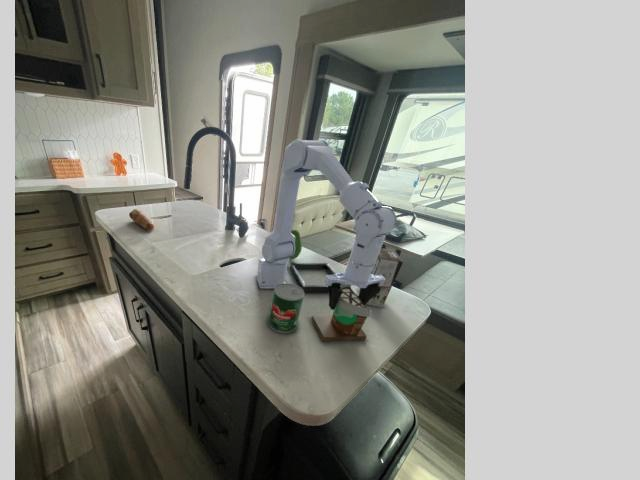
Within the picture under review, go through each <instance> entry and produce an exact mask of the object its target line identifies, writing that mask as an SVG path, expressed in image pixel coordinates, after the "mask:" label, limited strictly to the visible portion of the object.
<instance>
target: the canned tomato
mask: <svg viewBox="0 0 640 480" xmlns="http://www.w3.org/2000/svg"><path fill="white" fill-rule="evenodd" d="M304 297H305V293H304V291H303V290H302V288H300V287H299V286H298V285H296V284H294V283H289V282H288V283H286V282H285V283H283V284H279V285H277V286H276V287H275V288H274V289H273V295H272V302H271V306H270V312H269V318H268V325H269V327H270V328H271V329H272V330H274V331H276V332H278V333H284V334H289V333H292V332H294V331H295V330H296V329H297V326H298V322H299V317H300V314H301V310H302V306H303V301H304Z"/></svg>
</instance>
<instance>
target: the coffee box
mask: <svg viewBox="0 0 640 480" xmlns="http://www.w3.org/2000/svg"><path fill="white" fill-rule="evenodd" d="M403 263H404V261H403V259H402V258H401V256H399V254H398V253H397V251H396V250H395V249H390V248H381V250H380V252H379V255H378V257H377V260H376V262H375V265H374V267H373V270H372V272H371V274H373V275H382V276H383V277H384V278H385V282H384V284H383V286H379V285H378V287H379V288H380V289H381V290H380V292H379V293H378V294H376V295H375V296H374V297H372V298H371V299H370V300H369V301H368V302H367V303H366V304H365V305H367V306H373V307H379V308H383V307H384V305H385V302H386V300H387V298H388V296H389V295H390V291H391V289H392V287H393V286H394V283H395V281H396V279H397V276H398V275H399V273H400V270H401V268H402V266H403V265H404V264H403ZM358 288H359V287H358ZM359 293H360V288H359V289H358V294H359Z"/></svg>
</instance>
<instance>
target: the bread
mask: <svg viewBox="0 0 640 480" xmlns="http://www.w3.org/2000/svg"><path fill="white" fill-rule="evenodd" d="M128 215H129V218H130V219H131V220H132V221H133V222H134V223H136V224H137V225H139V226H140V227H142V228H143V229H145V230H146V231H148V232H149V231H150V232H152V231H153V230H154V229H155V226H154V224H153V223H152V221H150V220H149V218H148V217H147V216H146V215H145V214H144V213H143V212H142V211H141V210H140V209H138V208H134V209H133V210H131V211H130V212H129V214H128Z"/></svg>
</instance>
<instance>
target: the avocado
mask: <svg viewBox="0 0 640 480" xmlns="http://www.w3.org/2000/svg"><path fill="white" fill-rule="evenodd" d="M291 234H293V235H294V237H295V253H294V255H293V256H292V257H290V260H295V259H297V258H298V257H299V256H300V254H301V252H302V249H303V242H302V238H301V234H300V232H299V230H298V229H296V228H293V229H291Z"/></svg>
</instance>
